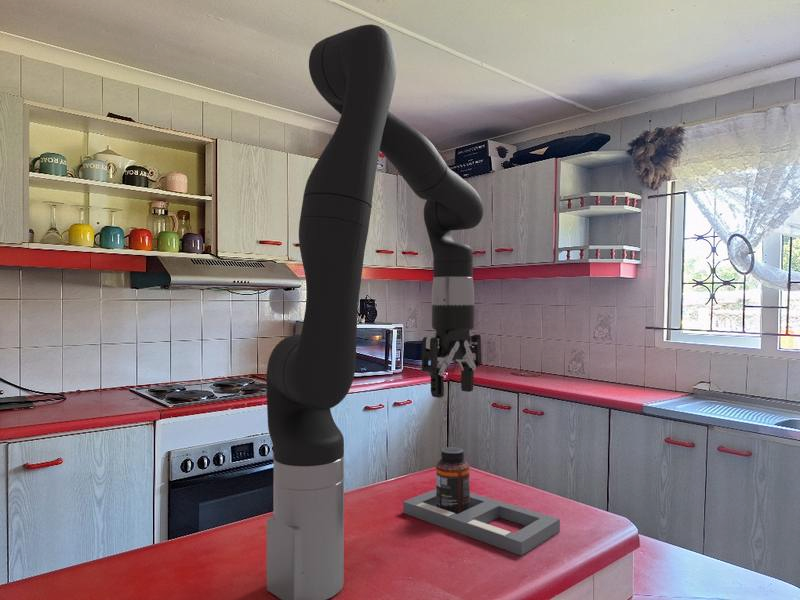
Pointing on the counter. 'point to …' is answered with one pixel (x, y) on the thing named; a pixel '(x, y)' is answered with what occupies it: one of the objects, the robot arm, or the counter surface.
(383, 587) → the counter surface
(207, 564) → the counter surface
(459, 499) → the supplement bottle
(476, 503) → the socket panel
